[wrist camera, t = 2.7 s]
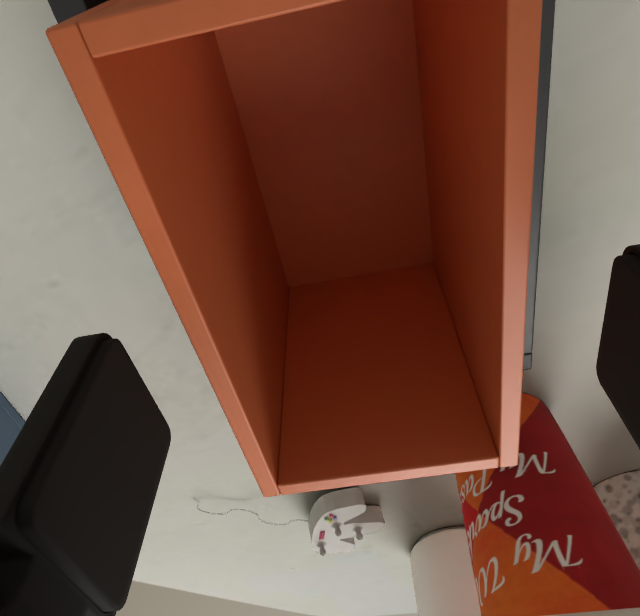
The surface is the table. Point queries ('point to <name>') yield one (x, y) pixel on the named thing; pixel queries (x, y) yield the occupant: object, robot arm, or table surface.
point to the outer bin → (70, 3)
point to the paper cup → (543, 531)
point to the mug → (624, 508)
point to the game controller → (339, 521)
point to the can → (444, 574)
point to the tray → (8, 427)
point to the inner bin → (331, 215)
